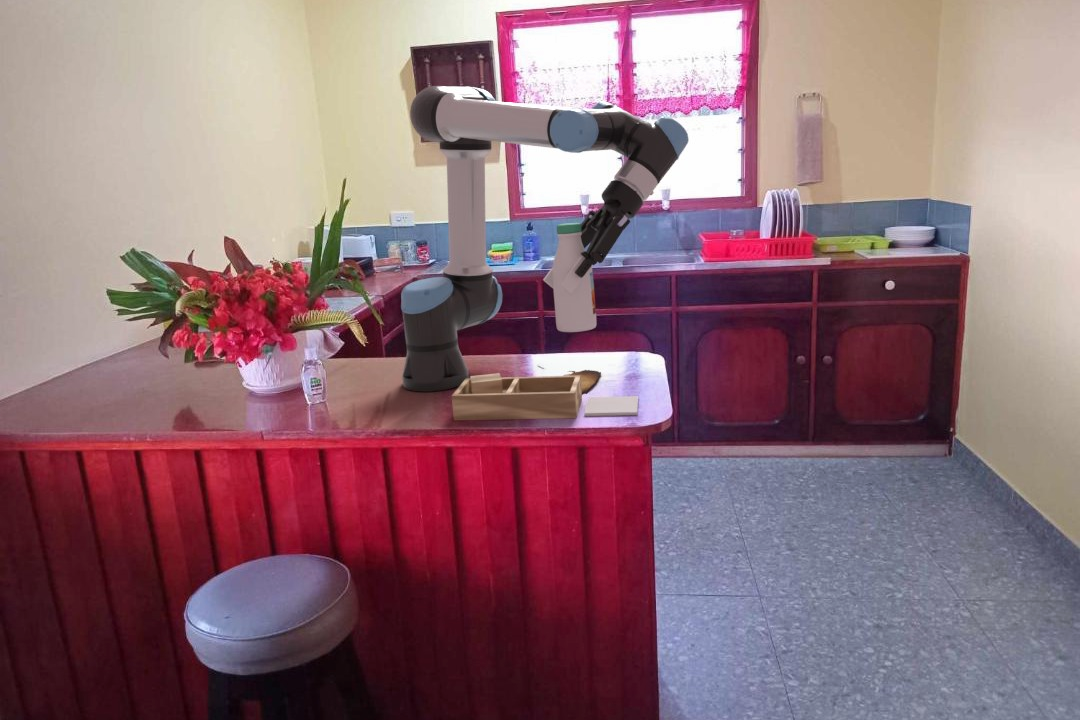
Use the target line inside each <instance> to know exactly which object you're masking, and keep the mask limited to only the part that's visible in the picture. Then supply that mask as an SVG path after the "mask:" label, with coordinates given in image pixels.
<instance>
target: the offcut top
mask: <svg viewBox="0 0 1080 720" xmlns="http://www.w3.org/2000/svg"><path fill="white" fill-rule="evenodd" d="M502 378H503V377H502V376H501V373H499V372H497V373H489V374H479V375H478V374H477V375H470V376H469V379H470V380H471V391H472V394H491V393H503V387H502Z"/></svg>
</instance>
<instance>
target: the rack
mask: <svg viewBox="0 0 1080 720" xmlns="http://www.w3.org/2000/svg"><path fill="white" fill-rule="evenodd" d="M501 378H502V387H503V390H507V392H506V393H491V394H472V391H471V380H470V378H469V379H465V380H464V381H463V383H462V384H461V385H460V386H458V387H457V388H456V390H454V392H453V393H452V395H451V406H452V413H453V414H452V416H453V421H486V420H487V421H489V420H490V421H491V420H493V421H494V420H541V419H543V420H544V419H547V420H548V419H550V420H551V419H577V417H578V414H579V410H580V406H581V403H582V400H583V395H582V391H581V375H577V376H563V375H552V376H551V375H549V376H547V375H546V376H545V375H544V376H542V375H541V376H513V377H510V376H509V377H507V376H506V377H501Z"/></svg>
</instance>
